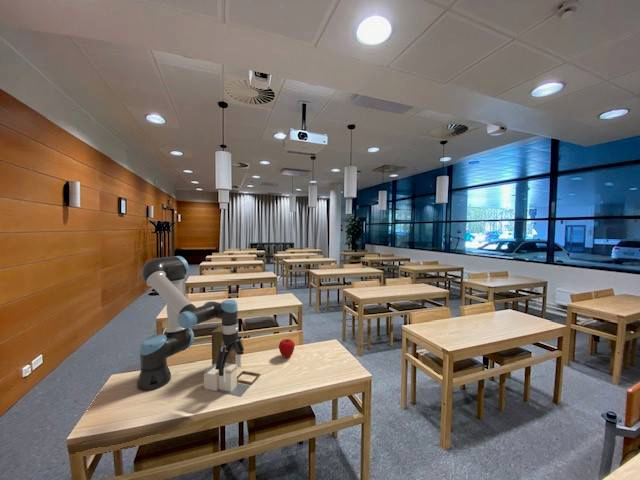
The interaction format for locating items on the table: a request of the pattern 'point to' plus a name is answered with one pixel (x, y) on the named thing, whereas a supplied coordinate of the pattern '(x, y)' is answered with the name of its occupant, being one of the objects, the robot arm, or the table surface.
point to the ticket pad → (211, 378)
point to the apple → (286, 347)
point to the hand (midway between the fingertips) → (231, 373)
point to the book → (219, 343)
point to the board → (234, 390)
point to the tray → (248, 373)
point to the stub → (229, 377)
